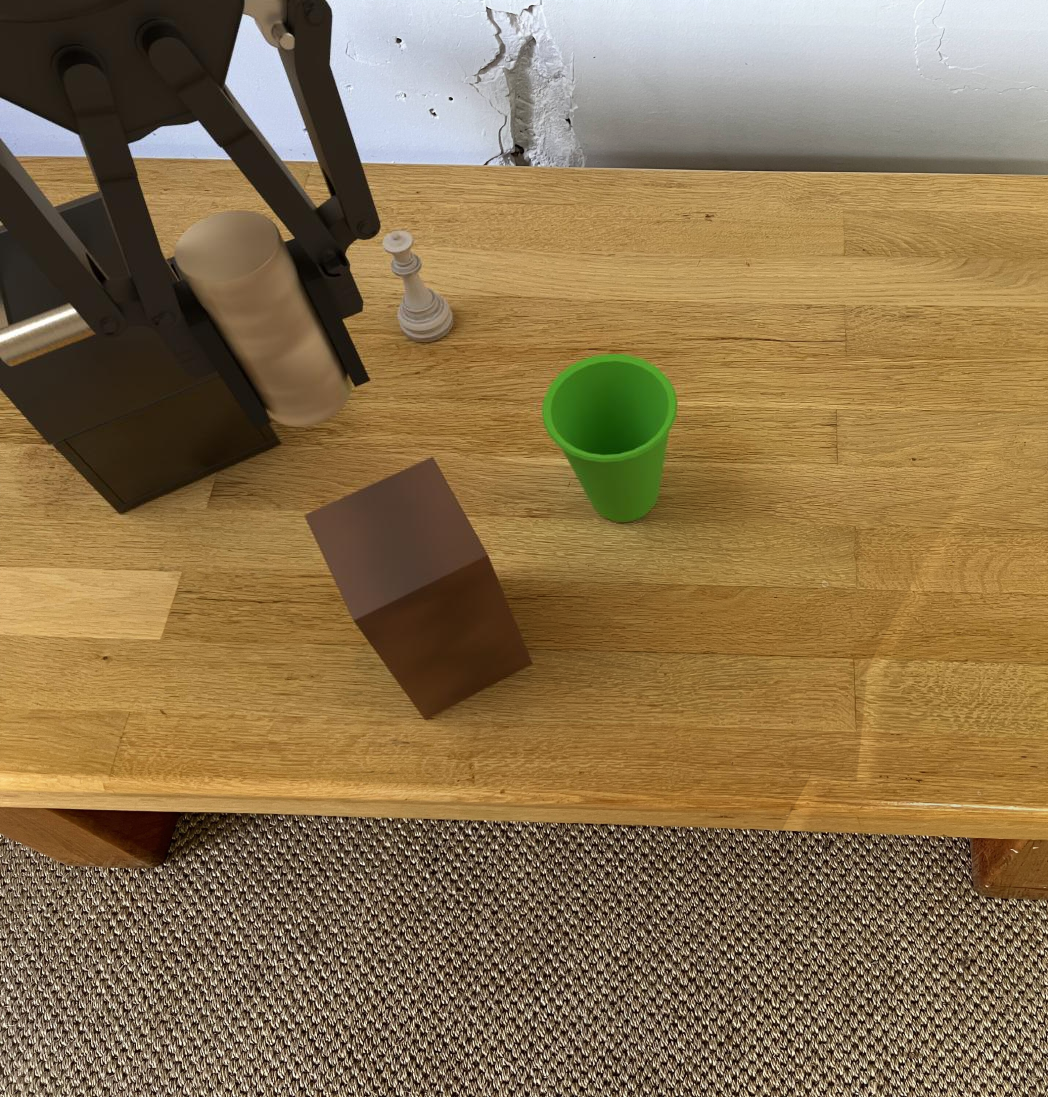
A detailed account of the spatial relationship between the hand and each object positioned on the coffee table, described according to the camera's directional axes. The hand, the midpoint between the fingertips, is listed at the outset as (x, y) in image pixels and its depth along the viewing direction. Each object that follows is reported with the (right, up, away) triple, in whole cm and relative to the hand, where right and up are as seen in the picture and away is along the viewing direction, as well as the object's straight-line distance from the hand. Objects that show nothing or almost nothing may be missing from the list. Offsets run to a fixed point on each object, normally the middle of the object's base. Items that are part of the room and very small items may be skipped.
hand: (303, 384), depth 47 cm
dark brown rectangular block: (0, -14, +24) cm, 28 cm away
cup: (+12, -4, +31) cm, 33 cm away
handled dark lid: (-22, +7, +18) cm, 29 cm away
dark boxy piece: (-25, +3, +35) cm, 43 cm away
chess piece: (-6, +11, +40) cm, 42 cm away
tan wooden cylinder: (0, 0, +1) cm, 1 cm away
